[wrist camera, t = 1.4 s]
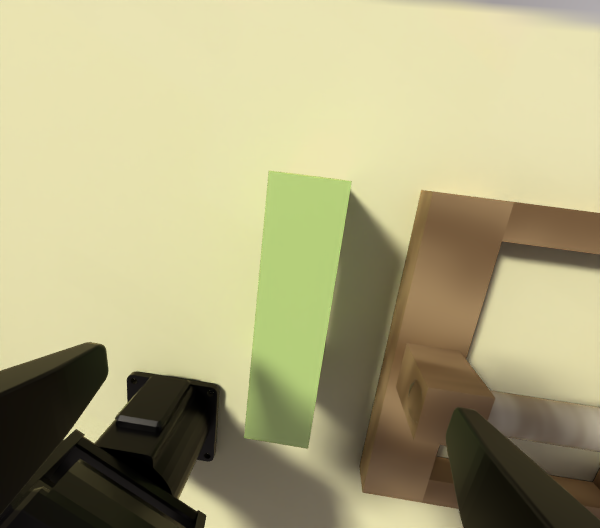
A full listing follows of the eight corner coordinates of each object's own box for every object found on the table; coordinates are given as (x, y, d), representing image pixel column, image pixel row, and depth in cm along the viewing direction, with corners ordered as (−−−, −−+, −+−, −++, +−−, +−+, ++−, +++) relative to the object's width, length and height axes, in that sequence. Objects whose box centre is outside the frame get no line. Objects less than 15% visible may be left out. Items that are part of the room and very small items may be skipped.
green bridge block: (313, 362, 21) (307, 448, 14) (269, 355, 21) (244, 438, 15) (341, 179, 18) (351, 181, 11) (290, 173, 18) (268, 170, 11)
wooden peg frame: (640, 513, 22) (749, 630, 17) (359, 466, 23) (370, 561, 17) (795, 238, 17) (1039, 270, 11) (421, 190, 18) (467, 196, 12)
